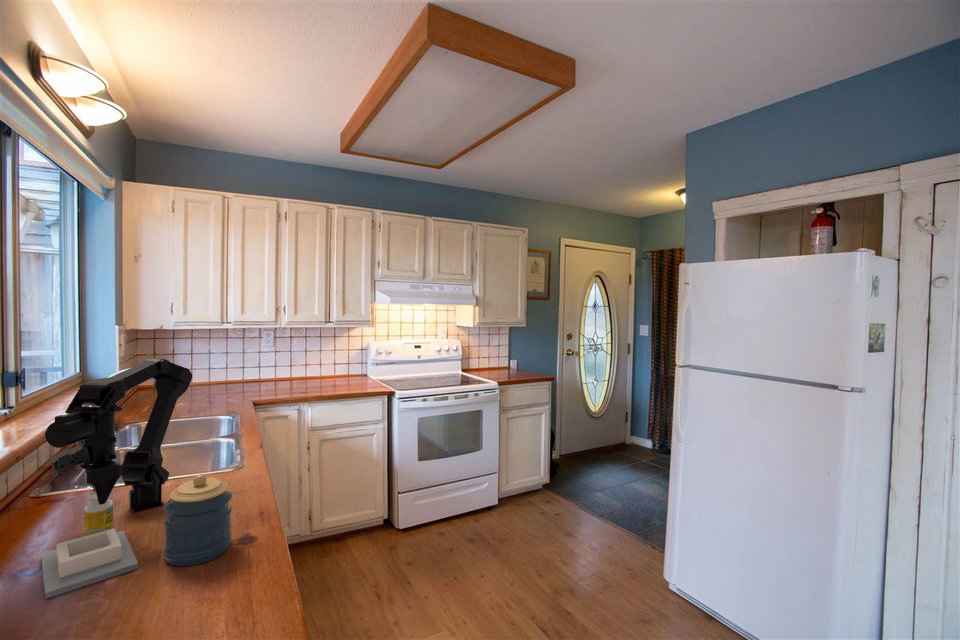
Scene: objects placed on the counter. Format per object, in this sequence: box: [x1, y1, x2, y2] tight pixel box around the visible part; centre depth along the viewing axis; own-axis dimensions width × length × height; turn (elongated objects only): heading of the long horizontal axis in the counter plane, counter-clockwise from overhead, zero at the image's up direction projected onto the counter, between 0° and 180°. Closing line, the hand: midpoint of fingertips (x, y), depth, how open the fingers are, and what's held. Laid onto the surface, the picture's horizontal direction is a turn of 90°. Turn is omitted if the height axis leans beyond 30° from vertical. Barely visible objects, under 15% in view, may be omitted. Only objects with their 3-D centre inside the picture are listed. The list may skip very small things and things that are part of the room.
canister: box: [163, 474, 233, 567], centre depth 100 cm, size 13×13×18 cm
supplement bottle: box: [83, 492, 114, 537], centre depth 106 cm, size 5×5×10 cm
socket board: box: [40, 527, 139, 600], centre depth 94 cm, size 14×18×4 cm
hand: (99, 497), depth 106 cm, fingers open, 9 cm apart
